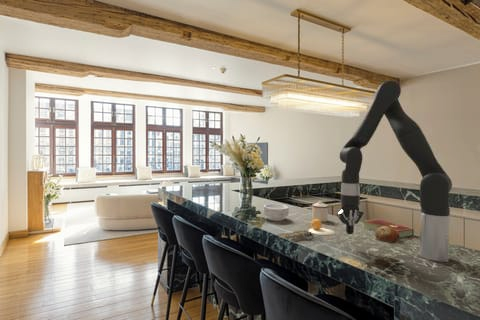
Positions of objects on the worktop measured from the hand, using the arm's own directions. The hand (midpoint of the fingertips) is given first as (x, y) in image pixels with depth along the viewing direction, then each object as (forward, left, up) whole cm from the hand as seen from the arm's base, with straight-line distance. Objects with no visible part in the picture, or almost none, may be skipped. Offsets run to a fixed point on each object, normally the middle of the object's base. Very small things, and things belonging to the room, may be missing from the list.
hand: (349, 233), depth 122 cm
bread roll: (-12, -23, -6) cm, 27 cm away
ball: (+21, -18, -3) cm, 28 cm away
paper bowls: (+49, -26, -6) cm, 56 cm away
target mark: (+18, -16, -6) cm, 24 cm away
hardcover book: (-10, -39, -7) cm, 40 cm away
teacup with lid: (+28, -41, -6) cm, 50 cm away
